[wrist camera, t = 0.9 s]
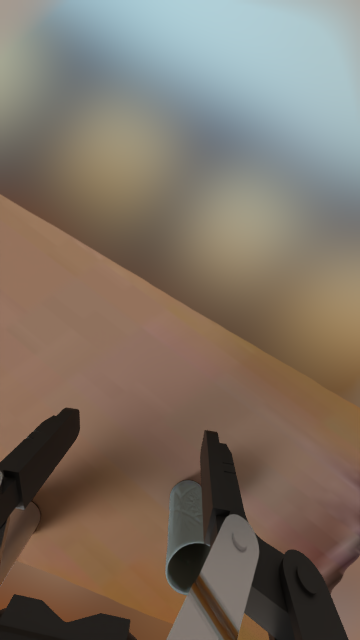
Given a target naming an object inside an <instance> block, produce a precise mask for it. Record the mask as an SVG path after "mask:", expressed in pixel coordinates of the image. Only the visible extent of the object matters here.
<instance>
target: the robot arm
mask: <svg viewBox="0 0 360 640" xmlns="http://www.w3.org/2000/svg"><path fill="white" fill-rule="evenodd" d="M79 431H80V416H79V410H78V409H72V408H64V409H63V410H62V411H61V412H60V413H59V414H58V415H57V416H54V415H53V416H52V417H50V418H49V419H47V420H45V421H44V422H42V423H41V424H40V425H39V426H38V427H37V428H36V429H35V430H34V432H32V433H31V434H30V435H29V436H28V437H27V438H26V439H24V440H23V441H22V442H21V443H20V444H19V445H18V446H17V447H16V448H15V449H14V450H13V451H12V452H11V453H10V454H9V455H8V456H7V457H5V458H4V459H3V460H2V461H1V462H0V586H1V584H2V583H3V581H4V579H5V578H6V576H7V574H8V573H9V571H10V570H11V568H12V566H13V565H14V563H15V561H16V560H17V558H18V557H19V555H20V553H21V552H22V550H23V549H24V547H25V545H26V544H27V542H28V540H29V539H30V537H31V536H32V534H33V532H34V531H35V529H36V527H37V526H38V524H39V522H40V512H39V509H38V507H37V506H36V505H35V504H34V503H33V502H31V500H32V499H33V498H34V496H35V495H36V493H37V492H38V491H39V489H40V488H41V487H42V485H43V484H44V483H45V481H46V480H47V478H48V477H49V476H50V474H51V473H52V472H53V470H54V469H55V467H56V466H57V465H58V463H59V462H60V461H61V459H62V458H63V457H64V455H65V454H66V452H67V451H68V450H69V448H70V447H71V446H72V444H73V443H74V441H75V440H76V438H77V436H78V434H79ZM200 465H201V489H202V513H203V538H204V544H207V545H210V552H209V555H208V557H207V559H206V561H205V563H204V565H203V568H202V570H201V572H200V574H199V576H198V578H197V579H196V580H195V581H194V583H193V585H192V587H191V589H190V591H189V593H188V595H187V597H186V599H185V601H184V603H183V605H182V608H181V610H180V612H179V614H178V616H177V618H176V620H175V622H174V625H173V627H172V629H171V631H170V633H169V635H168V638H167V639H166V640H237V638H238V634H239V630H240V626H241V622H242V618H243V614H244V613H245V614H246V615H248V616H249V617H250V618H251V619H252V620H254V621H255V622H256V623H257V624H259V625H260V626H261V627H262V628H263V629H265V630H266V631H267V632H268V634H269V640H348V637H347V635H346V632H345V630H344V627H343V625H342V623H341V620H340V617H339V615H338V613H337V610H336V607H335V605H334V603H333V600H332V598H331V595H330V593H329V590H328V588H327V585H326V583H325V581H324V579H323V577H322V575H321V574H320V572H319V571H318V569H317V568H316V567H315V565H314V564H313V563H312V562H311V561H310V560H309V559H308V558H307V557H306V556H305V555H304V554H302V553H301V552H299V551H297V550H288V551H287V552H286V553H285V555H284V554H283V553H281V552H280V551H278V550H277V549H275V548H273V547H272V546H270V545H269V544H267V543H266V542H264V541H263V540H262V539H260V538H259V537H258V536H257V535H256V533H255V532H254V531H253V529H252V527H251V526H250V524H249V523H248V521H247V518H246V516H245V512H244V508H243V503H242V499H241V494H240V490H239V485H238V481H237V476H236V472H235V467H234V463H233V458H232V454H231V452H230V450H229V448H228V447H227V445H226V444H222V443H219V437H218V433H217V432H214V431H208V430H205V432H204V437H203V442H202V447H201V455H200ZM129 628H130V620H129V619H125V618H120V617H116V616H111V615H107V614H102V613H100V614H97V615H93V616H89V617H86V618H82V619H79V620H75V621H71V622H64V621H63V620H62V619H61V618H60V617H58V616H57V615H56V614H55V613H54V612H53V611H52V610H51V609H50V608H49V607H48V606H47V605H46V604H45V603H44V602H43V601H42V600H38V599H34V598H29V597H25V596H20V595H16V594H14V595H13V597H12V599H11V601H10V603H9V604H8V606H7V608H4V609H2V610H0V640H137V639H136V638H135V637H134V636H133V635H132V634H131V633H130V632H129Z"/></svg>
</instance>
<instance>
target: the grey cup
mask: <svg viewBox="0 0 360 640" xmlns="http://www.w3.org/2000/svg"><path fill="white" fill-rule="evenodd" d="M169 510H170V514H169V525H168V548H167V557H166V578H167V581H168V583H169V584H170V586H171V587H172V588H173V589H174V590H175V591H177V592H178V593H181V594H184V595H188V593H189V591H190V589H191V587H192V585H193V583H194V581H195V580H196V579H197V578H198V576H199V574H200V572H201V570H202V568H203V565H204V563H205V561H206V559H207V557H208V555H209V552H210V545H207V544H204V538H203V513H202V489H201V486H200V485H199V484H198V483H197V482H195V481H191V480H185V481H181V482H179V483H178V484H177V485H175V486H174V488H173V489H172V491H171V494H170V505H169Z"/></svg>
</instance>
